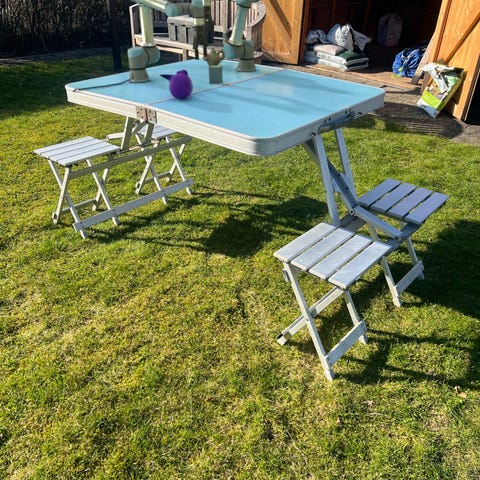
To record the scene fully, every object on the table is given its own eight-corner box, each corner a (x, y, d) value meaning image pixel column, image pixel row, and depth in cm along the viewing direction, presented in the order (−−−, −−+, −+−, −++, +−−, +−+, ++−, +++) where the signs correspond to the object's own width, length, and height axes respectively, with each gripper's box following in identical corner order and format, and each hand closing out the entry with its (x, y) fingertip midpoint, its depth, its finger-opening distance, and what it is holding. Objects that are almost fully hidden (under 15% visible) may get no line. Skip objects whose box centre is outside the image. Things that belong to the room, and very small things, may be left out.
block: (219, 83, 325) (218, 67, 319) (209, 83, 328) (208, 66, 322) (222, 82, 330) (222, 65, 325) (212, 81, 333) (212, 65, 327)
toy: (183, 91, 304) (192, 105, 283) (157, 86, 297) (165, 100, 276) (187, 67, 296) (198, 79, 275) (161, 62, 289) (170, 74, 268)
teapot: (206, 68, 381) (205, 49, 373) (200, 66, 390) (199, 47, 382) (228, 65, 390) (227, 47, 383) (221, 64, 399) (221, 45, 391)
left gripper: (196, 26, 295) (198, 61, 306) (211, 23, 315) (213, 55, 326) (185, 26, 298) (188, 60, 308) (201, 23, 318) (204, 55, 328)
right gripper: (204, 6, 349) (205, 36, 360) (216, 5, 370) (217, 33, 380) (195, 6, 352) (197, 36, 362) (208, 5, 372) (209, 33, 383)
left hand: (201, 58), depth 317 cm, fingers open, 13 cm apart
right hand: (207, 34), depth 371 cm, fingers open, 13 cm apart
